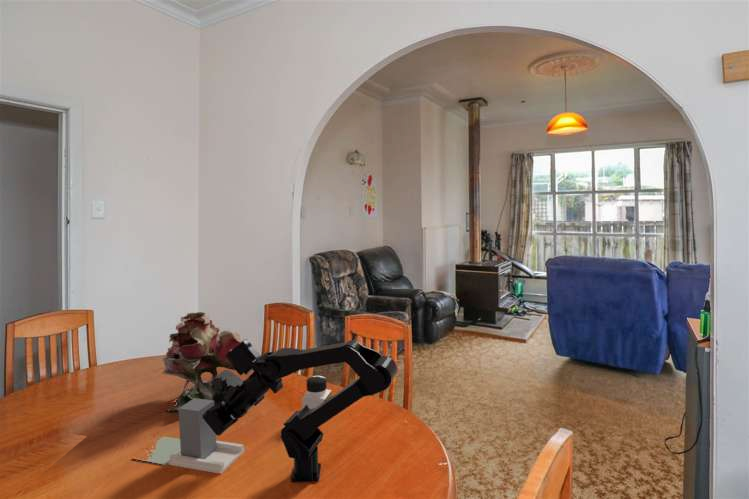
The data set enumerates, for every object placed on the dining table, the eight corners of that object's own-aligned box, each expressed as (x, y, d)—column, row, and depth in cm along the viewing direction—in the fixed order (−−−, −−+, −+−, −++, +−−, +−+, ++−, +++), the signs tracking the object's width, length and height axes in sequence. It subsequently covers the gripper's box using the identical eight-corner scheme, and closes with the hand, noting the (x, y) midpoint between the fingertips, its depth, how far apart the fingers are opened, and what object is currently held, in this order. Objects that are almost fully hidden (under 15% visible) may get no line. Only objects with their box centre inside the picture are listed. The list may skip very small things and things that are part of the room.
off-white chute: (244, 451, 111) (244, 443, 111) (221, 473, 101) (220, 465, 101) (196, 443, 115) (195, 436, 115) (169, 464, 105) (168, 457, 105)
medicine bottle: (324, 422, 125) (323, 383, 124) (302, 420, 127) (301, 381, 126) (332, 411, 132) (331, 374, 131) (310, 409, 134) (309, 372, 133)
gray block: (216, 448, 111) (214, 400, 109) (201, 461, 105) (198, 411, 104) (197, 445, 112) (194, 398, 111) (181, 457, 106) (178, 408, 105)
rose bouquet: (260, 385, 154) (256, 304, 151) (208, 424, 126) (203, 325, 123) (200, 378, 160) (196, 301, 158) (138, 414, 132) (132, 320, 130)
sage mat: (194, 442, 115) (194, 441, 115) (164, 465, 105) (164, 464, 105) (163, 437, 118) (163, 436, 118) (131, 459, 108) (131, 458, 108)
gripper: (253, 350, 112) (218, 385, 116) (208, 377, 94) (169, 417, 98) (280, 382, 111) (244, 417, 115) (240, 415, 93) (199, 455, 97)
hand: (216, 425), depth 106 cm, fingers closed
